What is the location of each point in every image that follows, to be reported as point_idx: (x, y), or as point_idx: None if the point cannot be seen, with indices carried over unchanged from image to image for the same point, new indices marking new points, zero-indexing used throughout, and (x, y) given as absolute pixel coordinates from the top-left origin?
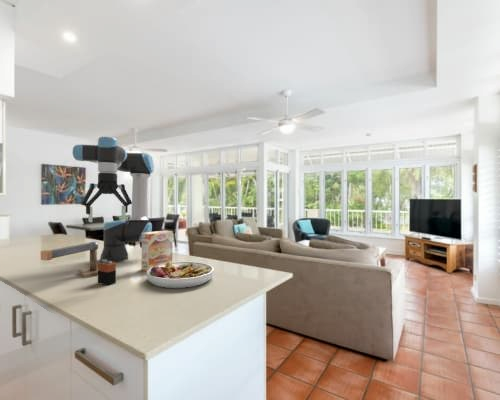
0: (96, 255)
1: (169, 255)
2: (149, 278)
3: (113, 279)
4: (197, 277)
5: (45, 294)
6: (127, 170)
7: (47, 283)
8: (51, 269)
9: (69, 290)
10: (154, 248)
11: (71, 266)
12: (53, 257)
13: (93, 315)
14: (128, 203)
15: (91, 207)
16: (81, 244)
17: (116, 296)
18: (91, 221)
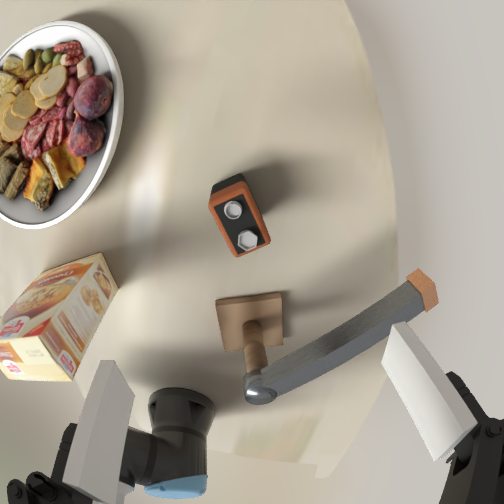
0: (247, 356)
1: (29, 289)
2: (123, 95)
3: (220, 183)
4: (32, 29)
5: (385, 195)
6: None
7: (360, 286)
8: (320, 385)
9: (338, 191)
10: (50, 297)
11: None
12: (403, 285)
13: None
14: (38, 498)
15: (467, 422)
16: (307, 379)
17: (243, 54)
18: (402, 326)
